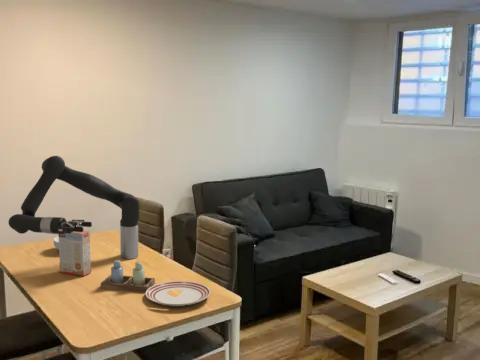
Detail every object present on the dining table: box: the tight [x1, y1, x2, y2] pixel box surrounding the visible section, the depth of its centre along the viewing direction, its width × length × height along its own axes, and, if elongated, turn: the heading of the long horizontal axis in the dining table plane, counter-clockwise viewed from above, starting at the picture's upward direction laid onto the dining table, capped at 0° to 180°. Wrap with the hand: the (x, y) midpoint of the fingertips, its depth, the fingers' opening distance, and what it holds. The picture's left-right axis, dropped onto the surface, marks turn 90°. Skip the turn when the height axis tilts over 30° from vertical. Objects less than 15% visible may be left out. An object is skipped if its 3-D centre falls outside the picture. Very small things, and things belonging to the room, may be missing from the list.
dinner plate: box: [145, 280, 212, 307], centre depth 216 cm, size 28×27×3 cm
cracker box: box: [58, 229, 92, 277], centre depth 241 cm, size 14×6×21 cm, turn 68°
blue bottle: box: [110, 259, 124, 284], centre depth 226 cm, size 5×5×11 cm
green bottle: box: [132, 261, 146, 286], centre depth 225 cm, size 5×5×11 cm
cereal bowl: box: [53, 235, 59, 251], centre depth 276 cm, size 17×17×7 cm
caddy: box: [100, 274, 156, 293], centre depth 226 cm, size 11×21×3 cm, turn 81°
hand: (87, 226), depth 228 cm, fingers open, 8 cm apart
